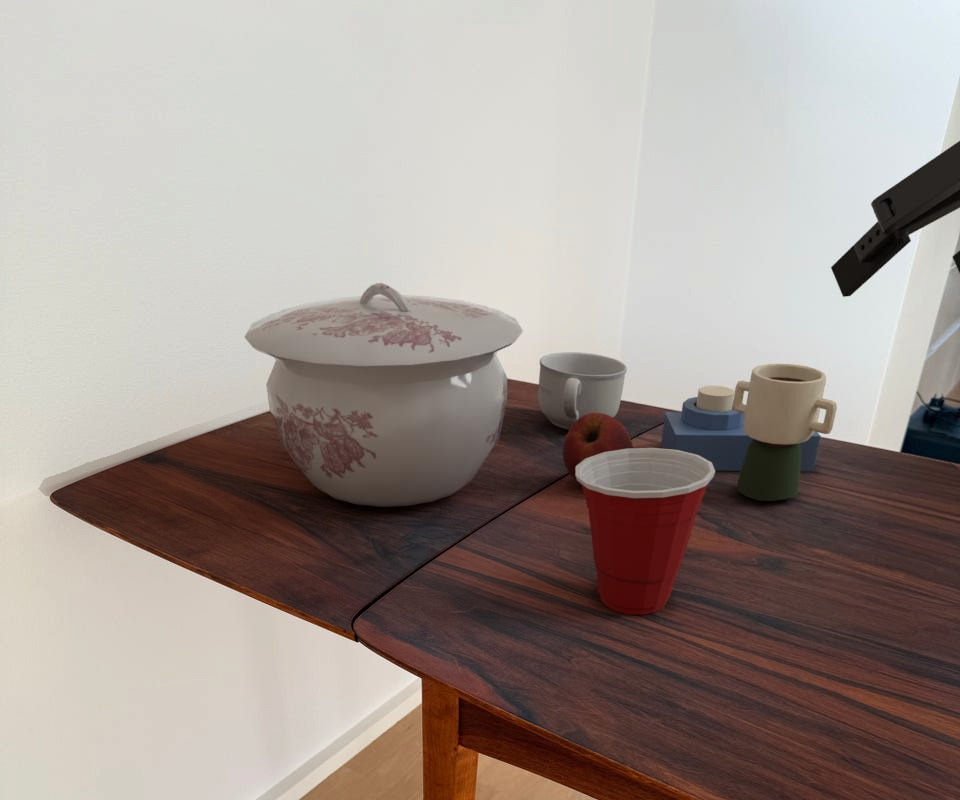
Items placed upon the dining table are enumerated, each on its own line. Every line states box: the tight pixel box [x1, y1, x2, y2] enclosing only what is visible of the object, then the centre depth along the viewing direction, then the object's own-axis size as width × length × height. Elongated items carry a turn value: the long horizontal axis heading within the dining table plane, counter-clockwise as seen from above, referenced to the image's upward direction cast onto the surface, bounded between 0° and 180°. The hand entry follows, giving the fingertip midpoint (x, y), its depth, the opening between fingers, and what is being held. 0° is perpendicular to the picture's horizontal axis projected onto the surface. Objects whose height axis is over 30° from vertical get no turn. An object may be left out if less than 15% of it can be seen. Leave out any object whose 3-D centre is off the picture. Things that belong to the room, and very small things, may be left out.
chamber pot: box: [244, 282, 524, 508], centre depth 91 cm, size 28×28×21 cm
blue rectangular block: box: [660, 396, 821, 473], centre depth 101 cm, size 16×8×6 cm, turn 88°
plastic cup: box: [576, 447, 716, 616], centre depth 72 cm, size 11×11×12 cm
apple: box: [562, 413, 634, 485], centre depth 94 cm, size 7×8×8 cm
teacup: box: [537, 351, 628, 431], centre depth 110 cm, size 14×11×8 cm
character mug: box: [733, 363, 838, 502], centre depth 90 cm, size 11×7×13 cm, turn 46°
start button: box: [696, 385, 735, 411], centre depth 100 cm, size 4×4×2 cm
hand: (902, 276), depth 73 cm, fingers open, 13 cm apart
